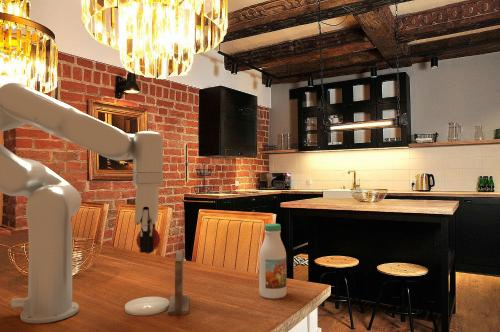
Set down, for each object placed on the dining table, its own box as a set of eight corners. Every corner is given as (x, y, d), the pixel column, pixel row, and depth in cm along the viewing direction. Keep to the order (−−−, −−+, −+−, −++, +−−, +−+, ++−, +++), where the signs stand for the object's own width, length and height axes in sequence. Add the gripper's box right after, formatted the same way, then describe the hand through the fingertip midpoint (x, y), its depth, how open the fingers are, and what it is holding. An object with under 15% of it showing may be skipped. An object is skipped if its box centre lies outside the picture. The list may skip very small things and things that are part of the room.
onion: (151, 250, 100) (151, 221, 100) (164, 253, 97) (164, 222, 97) (132, 254, 96) (132, 223, 96) (145, 257, 92) (145, 225, 92)
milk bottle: (255, 297, 104) (255, 225, 104) (264, 289, 111) (264, 222, 111) (282, 300, 101) (281, 226, 101) (289, 292, 108) (289, 223, 108)
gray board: (167, 315, 91) (167, 261, 91) (170, 298, 103) (170, 251, 103) (188, 313, 91) (188, 260, 92) (189, 297, 103) (189, 250, 104)
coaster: (121, 316, 90) (121, 312, 90) (129, 301, 100) (129, 297, 100) (167, 314, 91) (167, 310, 91) (170, 299, 102) (170, 295, 102)
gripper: (138, 179, 105) (138, 244, 104) (127, 180, 88) (127, 257, 87) (165, 179, 106) (165, 243, 105) (160, 180, 89) (160, 256, 88)
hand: (148, 248), depth 96 cm, fingers closed on onion, 5 cm apart
